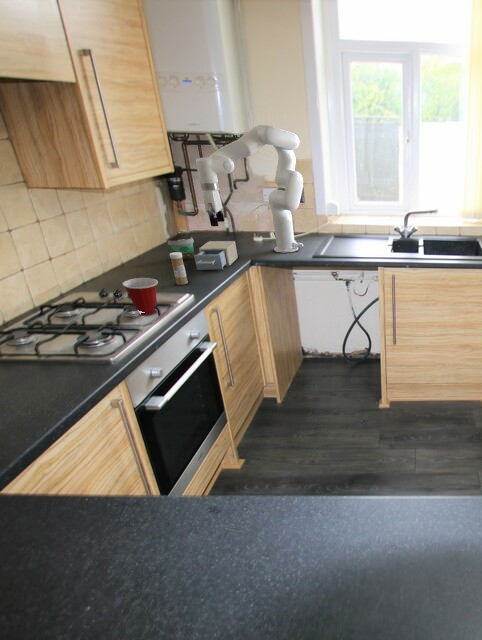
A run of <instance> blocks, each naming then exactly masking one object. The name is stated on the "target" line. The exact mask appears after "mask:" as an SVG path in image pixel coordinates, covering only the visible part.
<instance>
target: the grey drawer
mask: <svg viewBox="0 0 482 640" xmlns="http://www.w3.org/2000/svg"><path fill="white" fill-rule="evenodd" d="M193 259H194V262H195V267H196V270H197V271H199V270H202V271H203V270H224V267H225V266H224V265H225V264H226V263H227V257H226V252H225V250H203V251H201V252H200V251H199V253H197V254H194V258H193Z"/></svg>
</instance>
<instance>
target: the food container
mask: <svg viewBox="0 0 482 640" xmlns="http://www.w3.org/2000/svg"><path fill="white" fill-rule="evenodd" d="M194 243H195V240H194V238H193V236H190V238H180V239H177V240H169V239H168V240H167V245H168V246H169V248H170V250H171V253H173V252H181V253H182V259H183V261H188V260H193V259H195V258H194V255H195V251H194V250H195V249H194Z"/></svg>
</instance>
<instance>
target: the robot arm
mask: <svg viewBox="0 0 482 640" xmlns="http://www.w3.org/2000/svg"><path fill="white" fill-rule="evenodd" d="M266 145H270V146H273V148H274V149H275V151H276V153H277V157H278V159H277V165H276V172H275V177H274V182H275V184H276V186H277V187H279V188H283V189H284V190H283V189H274V190H272V191H271V192H270V193H269V195H268V204H269V208H270V211H271V215H272V220H273V221H272V222H273V229H274V236H275V243H276V246H275V247H274V249H273V251H274V252H276V253H281V254H283V253H284V254H285V253H286V254H287V253H294V252H296V251H299V248H303V247H304V243H302V242H297V240H296V239H295V233H294V224H293V216H292V213H291V212H295V211H296V210H297V209H298V208H299V206H300V202H301V199H302V195H303V189H304V178H303V175H302V174H301V173H300V171H298V170H296V164H297V163H296V160H297V159H296V155H295V152H294V151H295V150H297V149H298V148H299V146H300V139H299V136H298V135H297V134H296V133H295V132H293V131H290V130H286V129H282V128H279V127H276V126H273V125H265V124H258V125H256V126H253V128H251V129H250V130H249V131H247V132H246V133H244V135H242V136H240V137H238V139H236V140H233V141H232V142H230V143H228V144H226V145H224V146H222V147H220V148H218V149H217V150H215V151H214V152H212V153H211V154H210V155H209V156H208V157H198V158H196V159H195V165H196V166H195V167H196V170H197V174H198V179H199V183H200V188H201V191H202V195H203V204H204V209H205V213H207V216H208V219H209V222H210V226H211V227H218V226H220V225H219V223H224V222H225V217H224V211H223V204H222V198H221V195H220V191H219V190H221V189H220V184H219V178H218V174H219V175H228V174H231V173H232V172H233V171H234V170H235V163H234V161H237V160H241V159H245V158H249V157H251V156H252V155H253V154H255V153H256V152H257V151H258V150H260V149H261V148H263V147H264V146H266Z"/></svg>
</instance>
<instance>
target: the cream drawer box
mask: <svg viewBox="0 0 482 640" xmlns="http://www.w3.org/2000/svg"><path fill="white" fill-rule="evenodd" d="M203 250H225V252H226V257H227V263H226V264H225V265H224V266H223V267H228V266H229V267H230V266H231V265H232V264H233V263H234V262H235V261H237V260H238V258H239V256H238V252H237V251H238V250H237V245H236V241H235V240H213V241H212V240H209V241H207V242H206V243H204V245H202V246H201V247H199V248H198V251H199V253H200V252H201V251H203Z"/></svg>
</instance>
